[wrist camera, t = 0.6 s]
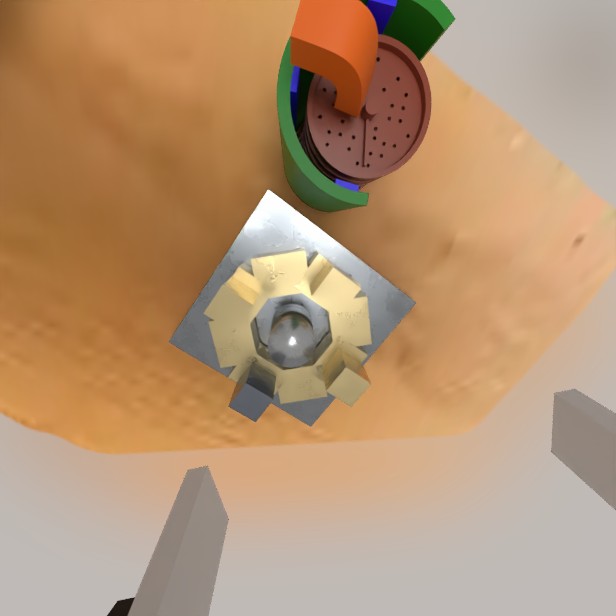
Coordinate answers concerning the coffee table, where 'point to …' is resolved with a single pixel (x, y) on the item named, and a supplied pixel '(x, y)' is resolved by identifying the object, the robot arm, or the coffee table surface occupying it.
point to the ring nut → (255, 357)
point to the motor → (354, 94)
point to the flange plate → (290, 299)
